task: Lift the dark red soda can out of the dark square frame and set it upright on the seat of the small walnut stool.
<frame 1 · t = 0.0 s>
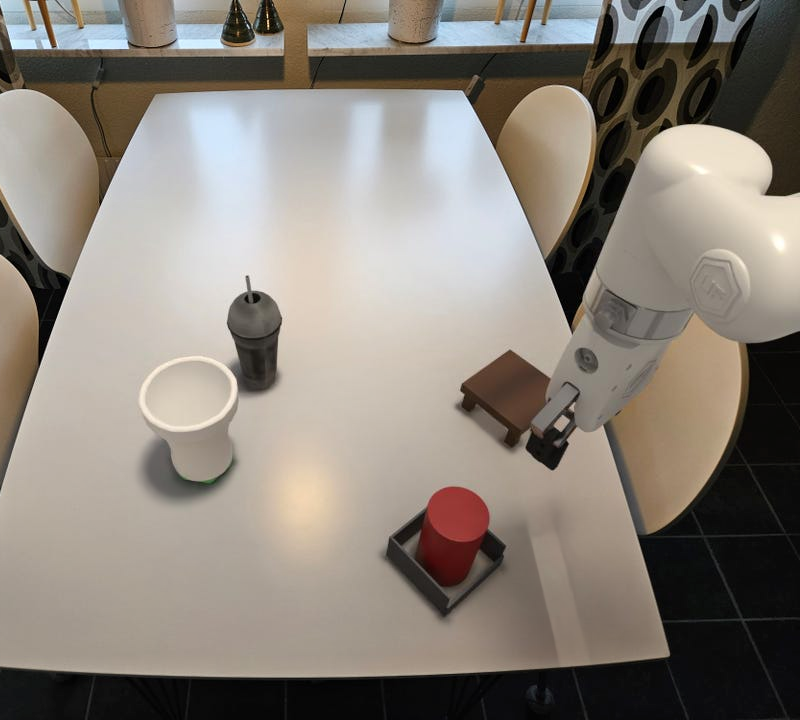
hand: (572, 431, 61), 21 cm above the table, tool pointing down, fingers open, 9 cm apart
can: (450, 538, 71), in the dark square frame
cup: (204, 461, 84), on the table
dark square frame: (442, 560, 75), on the table
stool: (507, 410, 89), on the table
beverage cup: (260, 378, 93), on the table
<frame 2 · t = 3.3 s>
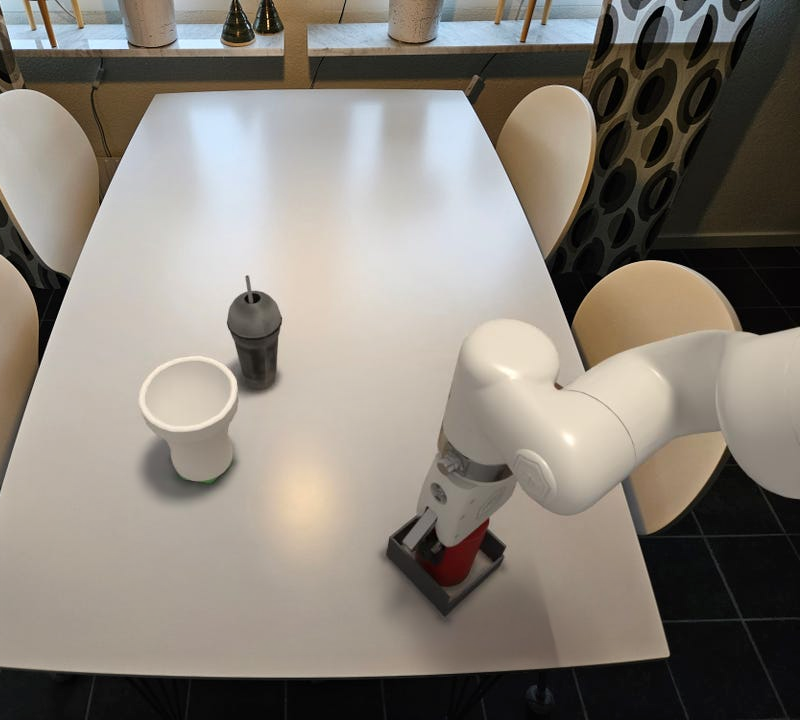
hand: (450, 535, 70), 6 cm above the table, tool pointing down, fingers closed on can, 6 cm apart
can: (450, 538, 71), in the dark square frame, touching gripper
everything else where it was.
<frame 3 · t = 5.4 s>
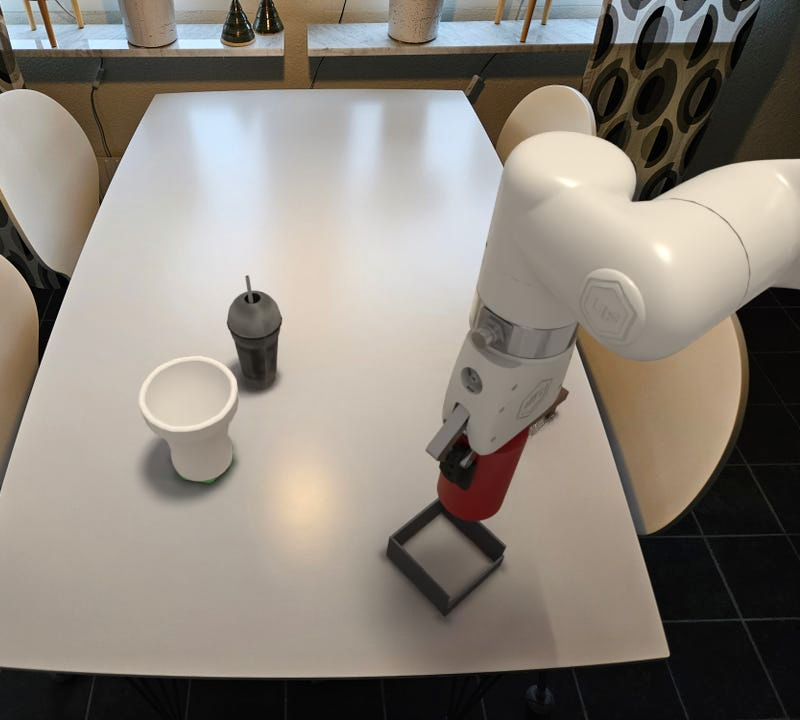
hand: (481, 456, 59), 22 cm above the table, tool pointing down, fingers closed on can, 6 cm apart
can: (479, 459, 59), point 21 cm above the table, touching gripper
everything else where it was.
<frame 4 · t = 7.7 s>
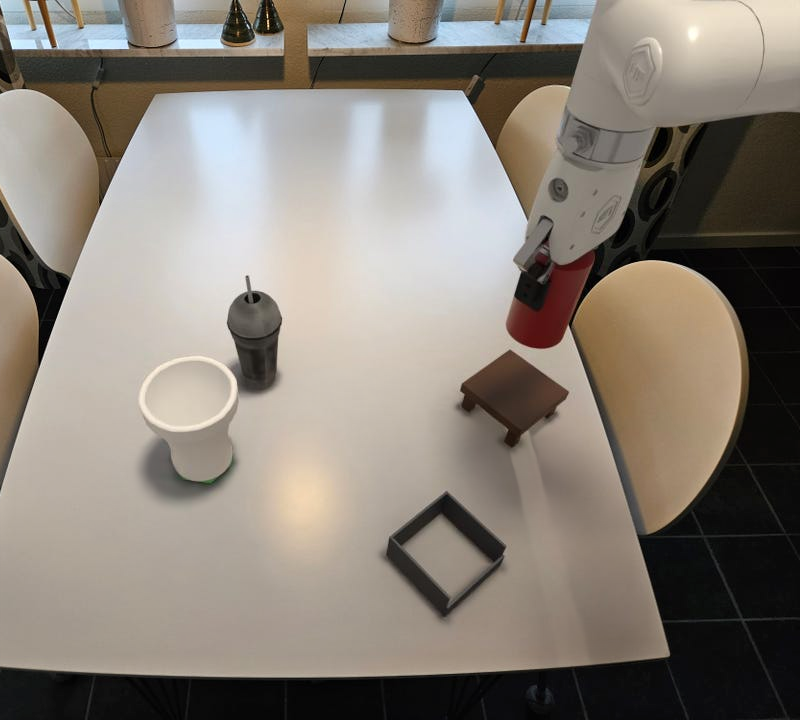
hand: (549, 288, 68), 26 cm above the table, tool pointing down, fingers closed on can, 6 cm apart
can: (547, 291, 69), point 25 cm above the table, touching gripper
everything else where it was.
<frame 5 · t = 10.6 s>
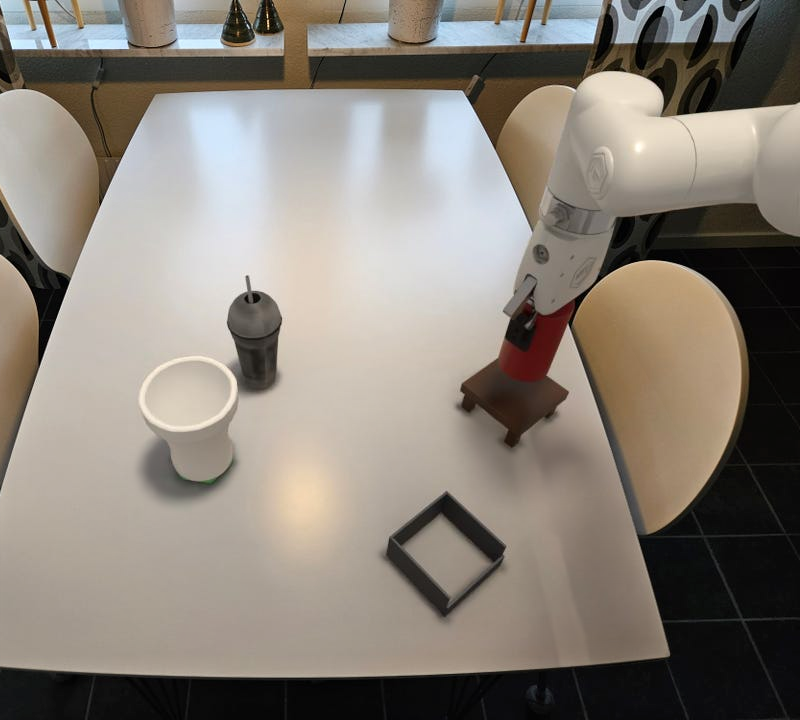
hand: (535, 329, 78), 16 cm above the table, tool pointing down, fingers closed on can, 6 cm apart
can: (534, 332, 78), point 15 cm above the table, touching gripper
everything else where it was.
when the fingers open (11 cm above the table, at t = 12.5 s): can stays where it is, resting on stool.
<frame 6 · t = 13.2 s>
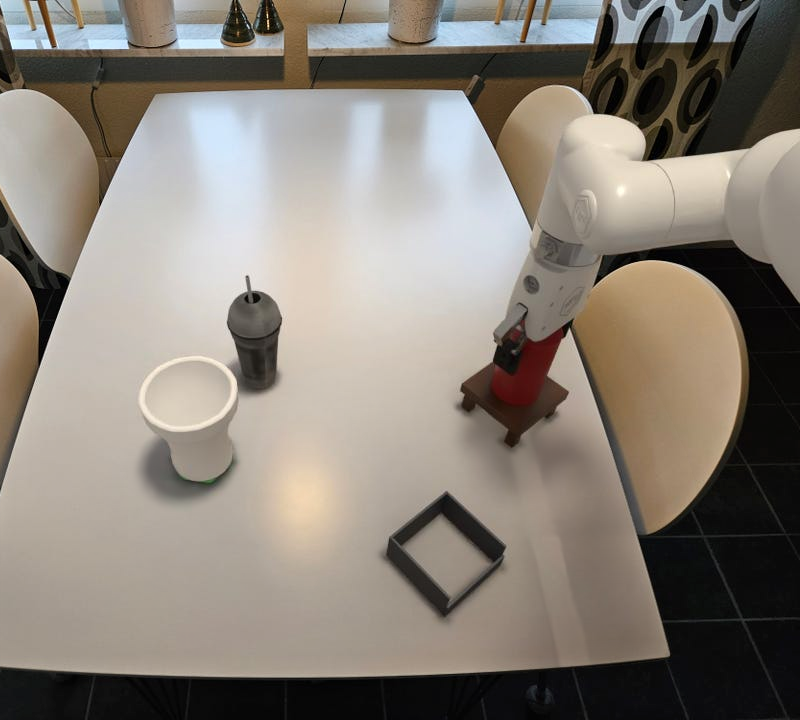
hand: (529, 349, 80), 12 cm above the table, tool pointing down, fingers open, 9 cm apart
can: (524, 359, 82), on the stool, point 10 cm above the table
everything else where it was.
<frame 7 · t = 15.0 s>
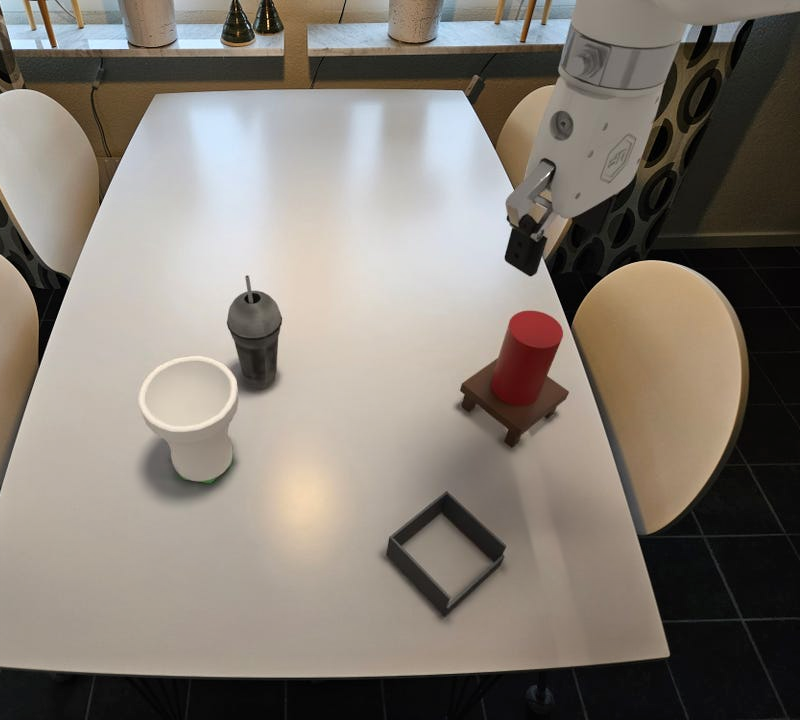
hand: (554, 246, 59), 34 cm above the table, tool pointing down, fingers open, 9 cm apart
nothing on the table moved.
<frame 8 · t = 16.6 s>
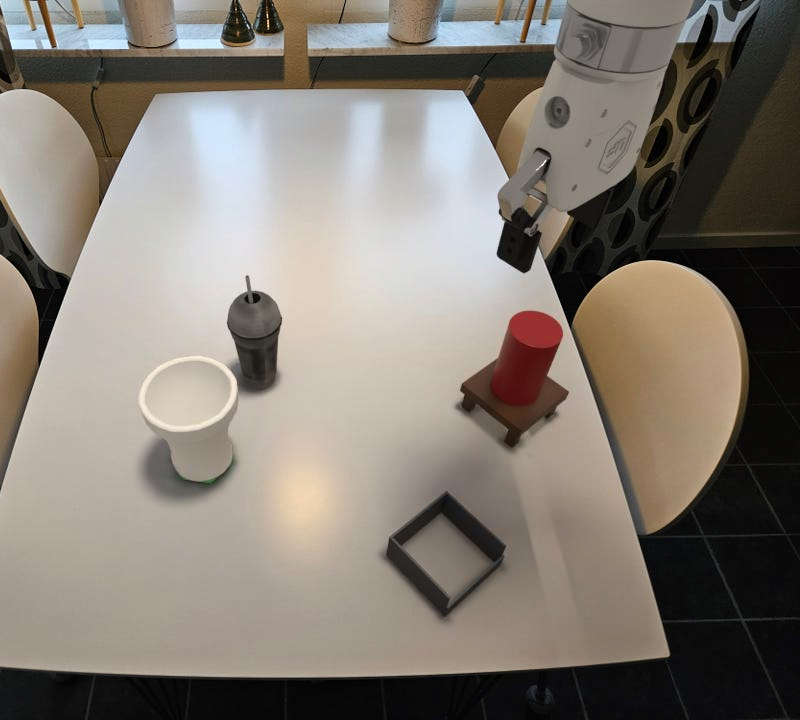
hand: (548, 241, 56), 36 cm above the table, tool pointing down, fingers open, 9 cm apart
nothing on the table moved.
at the end: can 0.1 cm off-centre on the stool, point 10.5 cm above the stool's base; can tilted 0°; the gripper is holding nothing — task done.
